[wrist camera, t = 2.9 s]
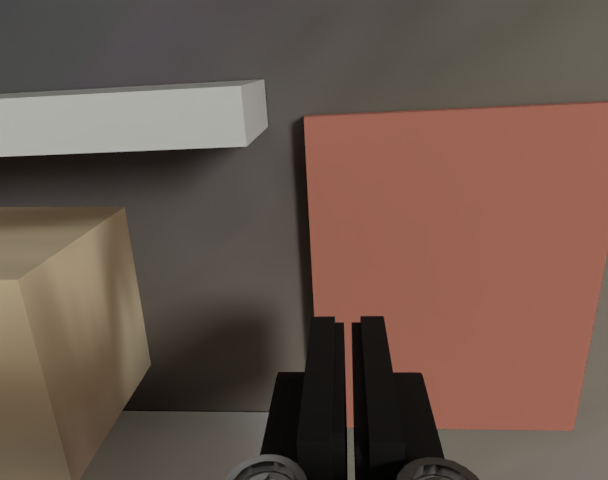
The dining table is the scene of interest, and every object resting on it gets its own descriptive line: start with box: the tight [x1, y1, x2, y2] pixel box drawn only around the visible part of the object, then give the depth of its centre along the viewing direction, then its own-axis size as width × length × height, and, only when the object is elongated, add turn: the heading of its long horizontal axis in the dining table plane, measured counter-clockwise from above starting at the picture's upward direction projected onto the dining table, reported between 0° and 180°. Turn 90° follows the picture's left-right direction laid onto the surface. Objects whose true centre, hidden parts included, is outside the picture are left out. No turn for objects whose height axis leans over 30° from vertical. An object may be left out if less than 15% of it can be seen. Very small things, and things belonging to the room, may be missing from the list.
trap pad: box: [304, 101, 608, 431], centre depth 14 cm, size 10×8×1 cm
